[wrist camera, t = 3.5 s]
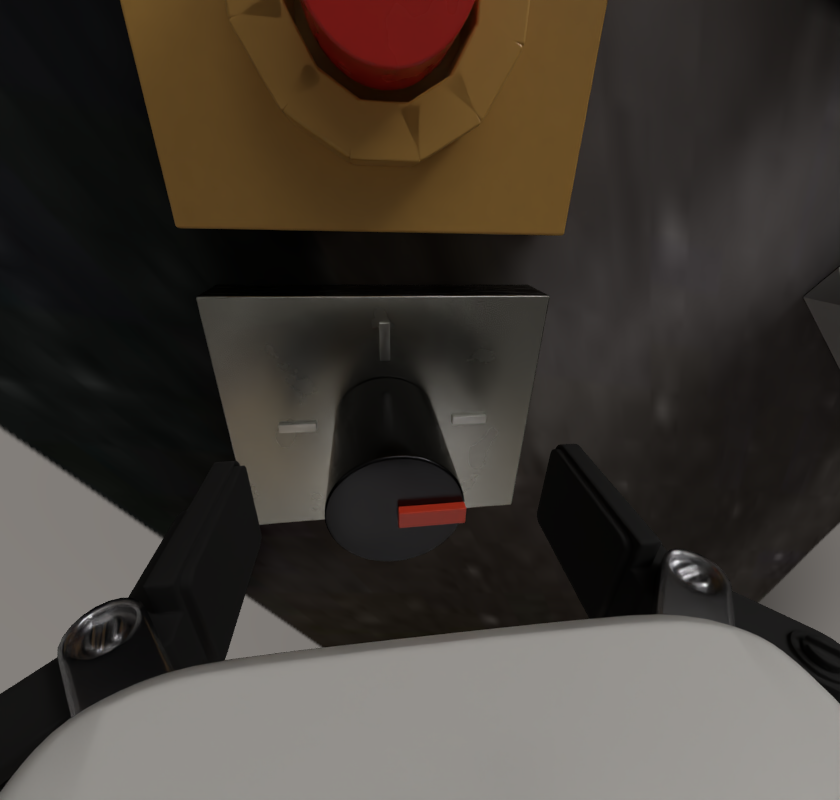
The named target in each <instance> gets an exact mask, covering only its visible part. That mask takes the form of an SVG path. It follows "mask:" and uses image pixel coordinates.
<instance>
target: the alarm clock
mask: <svg viewBox="0 0 840 800" xmlns="http://www.w3.org/2000/svg"><path fill="white" fill-rule="evenodd" d="M803 298H804V300H805V302H806V304H807V306H808V308H809V310H810V312H811V313H812V315H813V317H814V319H815V321H816V323H817V325H818V327H819V329H820V331H821V333H822V335H823V337H824V339H825V341H826V343H827V345H828V347H829V349H830V351H831V353H832V355H833V357H834V359H835V361H836V363H837V365H838V367H839V369H840V267H839V268H837V269H836V270H835V271H834V272H833V273H831V274H830V275H829V276H828V277H827V278H825V279H824V280H823V281H822V282H821V283H819V284H818V285H817V286H816V287H815V288H813V289H812V290H811V291H810V292H809V293H807V294H806V295H805V296H804V297H803Z"/></svg>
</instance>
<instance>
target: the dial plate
mask: <svg viewBox="0 0 840 800" xmlns="http://www.w3.org/2000/svg"><path fill="white" fill-rule="evenodd" d="M196 300H197V304H198V308H199V312H200V316H201V320H202V324H203V328H204V333H205V337H206V341H207V345H208V349H209V353H210V357H211V361H212V365H213V369H214V374H215V378H216V382H217V386H218V390H219V394H220V398H221V402H222V406H223V410H224V415H225V419H226V423H227V427H228V431H229V435H230V439H231V443H232V447H233V452H234V456H235V460H236V461H238V462H239V464H240V466H243V465H244V466H245V467H246V469H247V473H248V477H249V482H250V486H251V490H252V495H253V499H254V503H255V508H256V512H257V517H258V521H259V525H262V524H275V523H287V522H300V521H312V520H325V512H324V510H325V501H326V492H327V484H328V475H329V466H330V457H331V449H332V440H333V431H334V422H335V415H336V412H337V409H338V407H339V405H340V403H341V401H342V400H343V398H344V397H345V396H346V395H347V394H348V393H349V392H350V391H351V390H353V389H354V388H356V387H357V386H359V385H361V384H363V383H365V382H368V381H371V380H375V379H381V378H394V379H400V380H403V381H406V382H409V383H411V384H413V385H415V386H417V387H418V388H419V389H421V390H422V391H423V392H424V393H425V394H426V395H427V396H428V398H429V399H430V401H431V403H432V405H433V407H434V410H435V413H436V416H437V419H438V422H439V425H440V427H441V430H442V433H443V436H444V439H445V442H446V445H447V447H448V450H449V453H450V456H451V459H452V462H453V465H454V467H455V470H456V473H457V476H458V479H459V482H460V485H461V487H462V490H463V494H464V503H465V506H466V508H474V507H487V506H499V505H511V504H512V498H513V493H514V487H515V482H516V476H517V471H518V466H519V460H520V455H521V449H522V444H523V438H524V433H525V428H526V422H527V417H528V411H529V406H530V400H531V395H532V389H533V384H534V379H535V373H536V368H537V362H538V357H539V351H540V346H541V341H542V335H543V330H544V324H545V319H546V313H547V308H548V303H549V295H547V294H545V293H543V292H541V291H539V290H537V289H535V288H533V287H531V286H530V285H215V286H213V287H212V288H210V289H208V290H207V291H205V292H203V293H202V294H200V295H198V296H197V297H196Z"/></svg>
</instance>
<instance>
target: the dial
mask: <svg viewBox="0 0 840 800" xmlns="http://www.w3.org/2000/svg"><path fill="white" fill-rule="evenodd" d="M324 512H325V521H326V525H327V528H328V530H329V532H330V534H331V535H332V537H333V538H334V540H335V541H336V542H337V543H338V544H339V545H340V546H342V547H343V548H344V549H346V550H347V551H349V552H350V553H353V554H355V555H357V556H360V557H362V558H366V559H370V560H376V561H399V560H405V559H410V558H414V557H417V556H420V555H422V554H425V553H427V552H429V551H431V550H433V549H434V548H436V547H437V546H439V545H440V544H442V543H443V542H444V541H445V540H446V539H448V537H449V536H450V535H451V534H452V533H453V532H454V530H455V529H456V528H457V526H458V524H459V523H464V522H465V517H466V506H465V503H464V494H463V490H462V487H461V485H460V482H459V479H458V476H457V473H456V470H455V467H454V465H453V462H452V459H451V456H450V453H449V450H448V447H447V445H446V442H445V439H444V436H443V433H442V430H441V427H440V425H439V422H438V419H437V416H436V413H435V410H434V407H433V405H432V403H431V401H430V399H429V398H428V396H427V395H426V394H425V393H424V392H423V391H422V390H421V389H419V388H418V387H417V386H415V385H413V384H411V383H409V382H406V381H403V380H400V379H394V378H381V379H375V380H371V381H368V382H365V383H363V384H361V385H359V386H357V387H356V388H354V389H353V390H351V391H350V392H349V393H348V394H347V395H346V396H345V397H344V398H343V400H342V401H341V403H340V405H339V407H338V409H337V412H336V415H335V422H334V431H333V440H332V449H331V457H330V466H329V475H328V484H327V492H326V501H325V510H324Z"/></svg>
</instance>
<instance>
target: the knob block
mask: <svg viewBox="0 0 840 800" xmlns="http://www.w3.org/2000/svg"><path fill="white" fill-rule="evenodd" d="M607 1H608V0H475V2H474V4H473V7H472V9H471V11H470V14H469V16H468V18H467V20H466V21H465V23H464V25H463V27H462V28H461V30H460V32H459V34H458V35H457V37H456V39H455V40H454V42H453V44H452V45H451V47H450V49H449V50H448V52H447V54H446V55H445V57H444V58H443V60H442V61H441V62H440V64H439V65H438V66H437V67H436V68H435V69H434V70H433V71H432V72H431V73H430V74H429V75H428V76H427V77H425V78H424V79H423V80H421V81H419V82H418V83H416V84H414V85H412V86H409V87H406V88H403V89H398V90H379V89H373V88H370V87H367V86H364V85H362V84H360V83H358V82H356V81H354V80H352V79H351V78H349V77H348V76H346V75H345V74H344V73H343V72H341V71H340V70H339V69H338V68H337V67H336V66H335V65H334V64H333V63H332V62H331V61H330V59H329V58H328V57H327V56H326V55H325V53H324V52H323V50H322V49H321V48H320V46H319V44H318V43H317V41H316V39H315V37H314V36H313V34H312V31H311V29H310V27H309V25H308V22H307V20H306V17H305V14H304V11H303V8H302V5H301V2H300V0H120V2H121V6H122V11H123V15H124V19H125V23H126V27H127V31H128V35H129V39H130V43H131V47H132V51H133V55H134V59H135V63H136V67H137V71H138V75H139V79H140V83H141V87H142V92H143V96H144V100H145V104H146V108H147V112H148V116H149V120H150V124H151V128H152V132H153V136H154V140H155V144H156V148H157V152H158V156H159V160H160V164H161V168H162V173H163V177H164V181H165V185H166V189H167V193H168V197H169V201H170V205H171V209H172V213H173V217H174V221H175V225H176V227H178V228H200V229H251V230H302V231H354V232H405V233H456V234H508V235H559V236H561V235H563V234H564V231H565V225H566V220H567V215H568V209H569V204H570V198H571V193H572V188H573V182H574V177H575V172H576V166H577V161H578V156H579V150H580V145H581V140H582V134H583V129H584V124H585V118H586V113H587V108H588V102H589V97H590V92H591V86H592V81H593V76H594V70H595V65H596V60H597V54H598V49H599V43H600V38H601V33H602V27H603V22H604V17H605V11H606V6H607Z"/></svg>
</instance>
